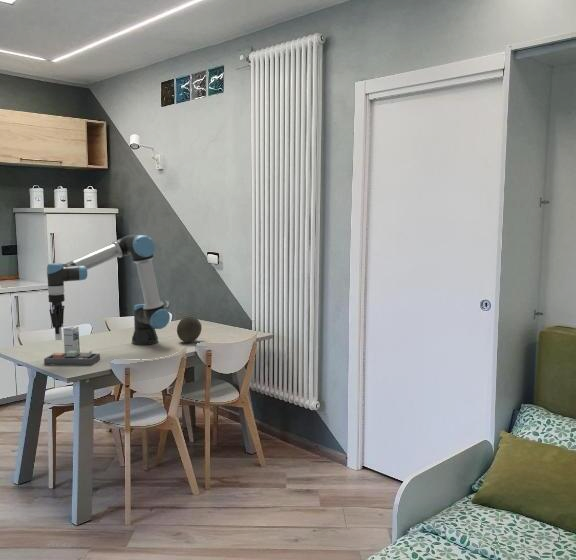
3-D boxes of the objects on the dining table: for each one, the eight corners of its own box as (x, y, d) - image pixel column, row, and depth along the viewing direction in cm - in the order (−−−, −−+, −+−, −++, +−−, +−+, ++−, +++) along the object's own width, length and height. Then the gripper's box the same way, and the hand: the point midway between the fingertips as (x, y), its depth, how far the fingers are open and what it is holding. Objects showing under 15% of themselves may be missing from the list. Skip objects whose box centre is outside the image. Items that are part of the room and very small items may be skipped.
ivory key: (91, 354, 304) (91, 350, 303) (88, 356, 299) (88, 352, 299) (83, 354, 304) (83, 350, 303) (80, 356, 299) (79, 352, 299)
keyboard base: (100, 359, 308) (99, 352, 307) (91, 365, 296) (91, 358, 295) (54, 359, 308) (54, 352, 308) (44, 364, 297) (44, 357, 296)
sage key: (78, 354, 304) (78, 350, 304) (75, 356, 299) (74, 352, 299) (69, 354, 304) (69, 350, 304) (66, 356, 300) (66, 352, 299)
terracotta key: (65, 356, 304) (64, 352, 304) (61, 358, 300) (61, 355, 300) (56, 356, 304) (56, 352, 304) (52, 358, 300) (52, 354, 300)
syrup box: (73, 354, 318) (72, 328, 316) (64, 354, 319) (62, 327, 318) (79, 352, 323) (78, 326, 322) (70, 351, 325) (69, 325, 323)
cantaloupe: (196, 345, 342) (196, 319, 340) (173, 344, 345) (173, 318, 343) (204, 340, 355) (204, 315, 354) (182, 339, 358) (182, 314, 357)
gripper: (54, 292, 305) (56, 337, 308) (43, 295, 292) (45, 342, 295) (68, 292, 305) (71, 337, 307) (58, 295, 292) (60, 342, 295)
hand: (58, 339), depth 301 cm, fingers closed
